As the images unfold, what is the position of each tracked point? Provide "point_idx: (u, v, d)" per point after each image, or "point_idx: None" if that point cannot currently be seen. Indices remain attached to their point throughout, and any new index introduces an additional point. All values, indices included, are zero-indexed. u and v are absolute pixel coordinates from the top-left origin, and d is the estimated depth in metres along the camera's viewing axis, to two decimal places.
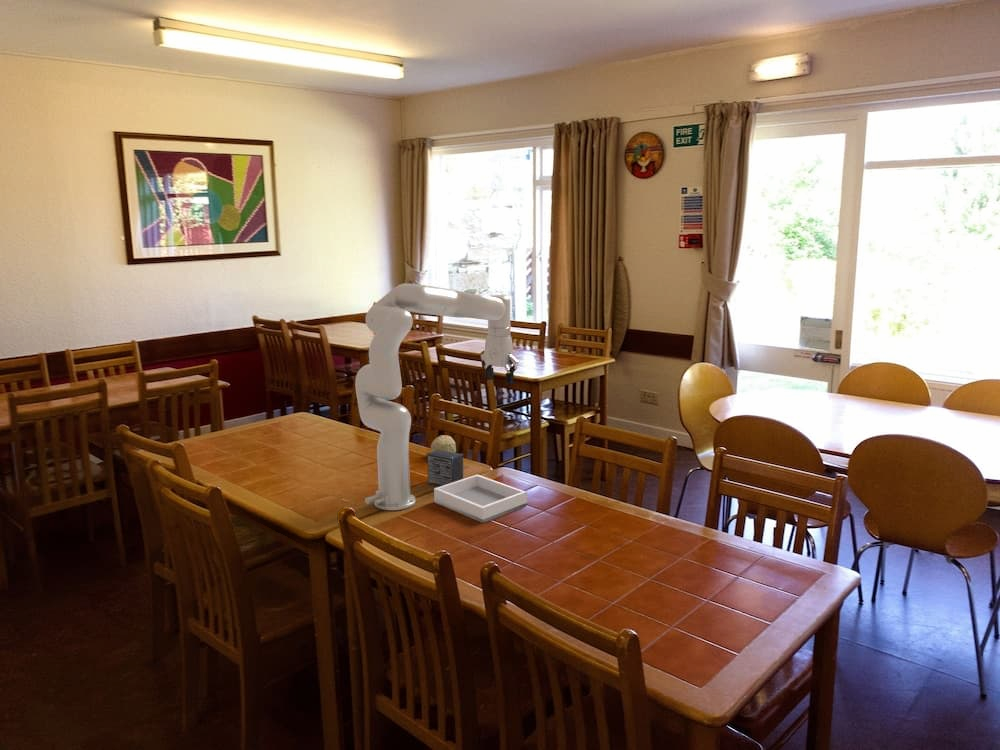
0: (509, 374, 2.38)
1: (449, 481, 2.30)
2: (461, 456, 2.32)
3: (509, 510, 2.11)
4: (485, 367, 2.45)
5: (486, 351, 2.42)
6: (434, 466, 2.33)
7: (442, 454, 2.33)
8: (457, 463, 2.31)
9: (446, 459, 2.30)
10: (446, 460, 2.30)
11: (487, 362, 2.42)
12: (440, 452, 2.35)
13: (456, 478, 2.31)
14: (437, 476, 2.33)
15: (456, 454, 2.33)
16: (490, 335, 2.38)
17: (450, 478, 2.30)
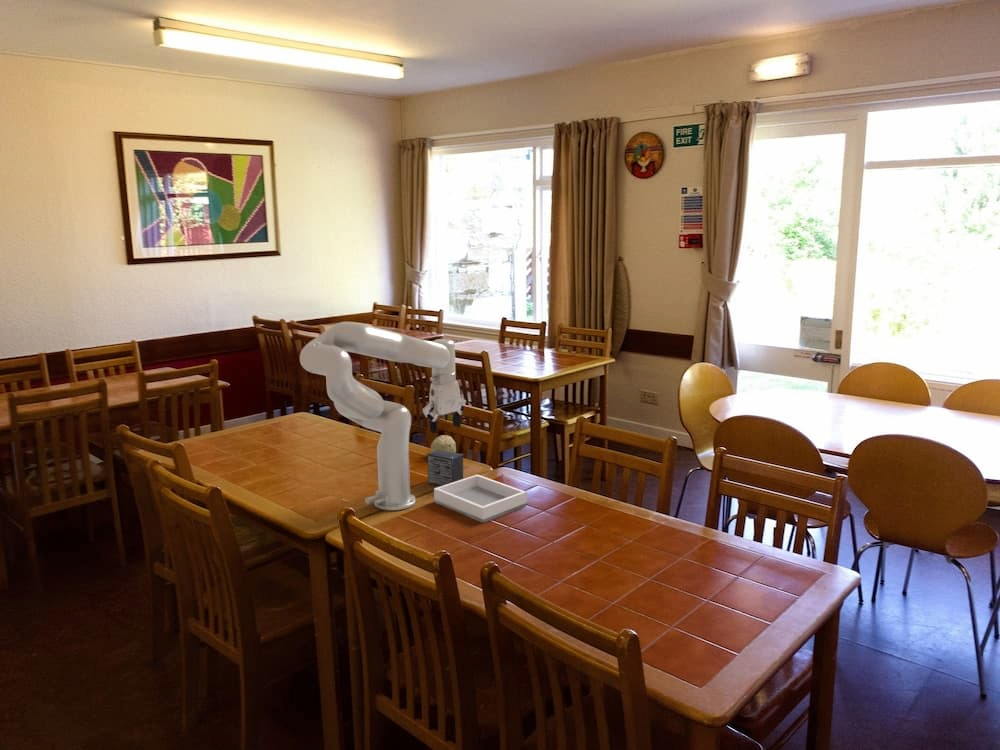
0: (459, 416, 2.34)
1: (449, 481, 2.30)
2: (461, 456, 2.32)
3: (509, 510, 2.11)
4: (434, 420, 2.26)
5: (441, 401, 2.26)
6: (434, 466, 2.33)
7: (442, 454, 2.33)
8: (457, 463, 2.31)
9: (446, 459, 2.30)
10: (446, 460, 2.30)
11: (443, 412, 2.27)
12: (440, 452, 2.35)
13: (456, 478, 2.31)
14: (437, 476, 2.33)
15: (456, 454, 2.33)
16: (450, 382, 2.26)
17: (450, 478, 2.30)
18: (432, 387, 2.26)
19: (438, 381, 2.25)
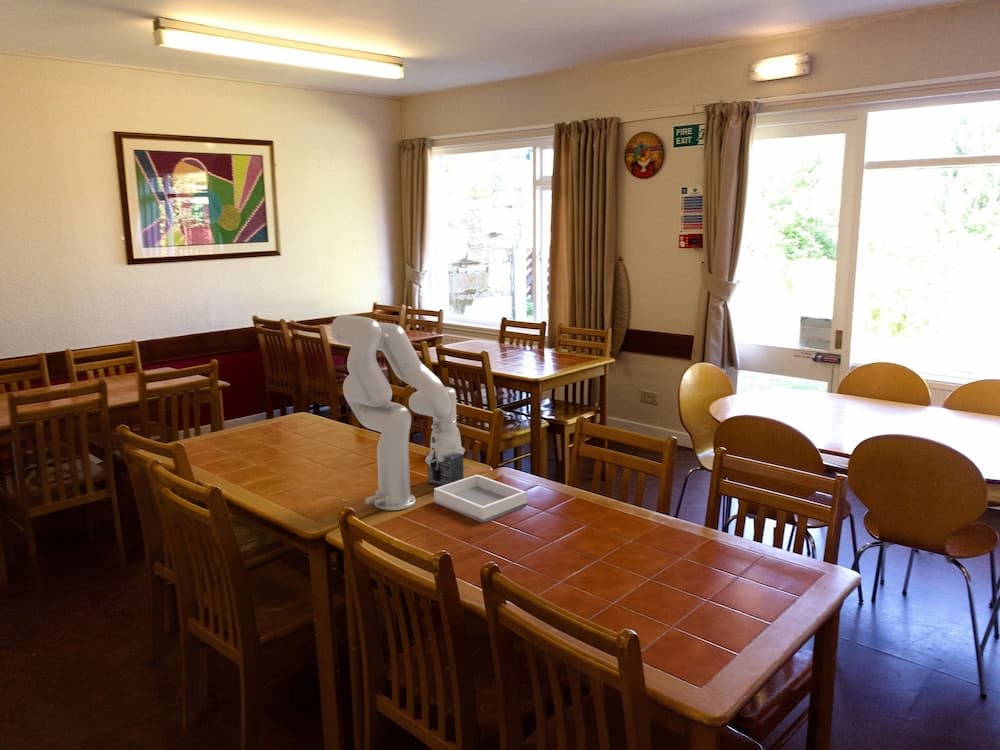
0: None
1: (449, 481, 2.30)
2: (461, 456, 2.32)
3: (509, 510, 2.11)
4: (437, 468, 2.30)
5: (442, 449, 2.29)
6: None
7: None
8: (457, 463, 2.31)
9: (446, 459, 2.30)
10: (446, 460, 2.30)
11: (444, 459, 2.30)
12: None
13: (456, 478, 2.31)
14: None
15: (456, 454, 2.33)
16: (451, 430, 2.29)
17: (450, 478, 2.30)
18: (433, 435, 2.29)
19: (439, 429, 2.28)
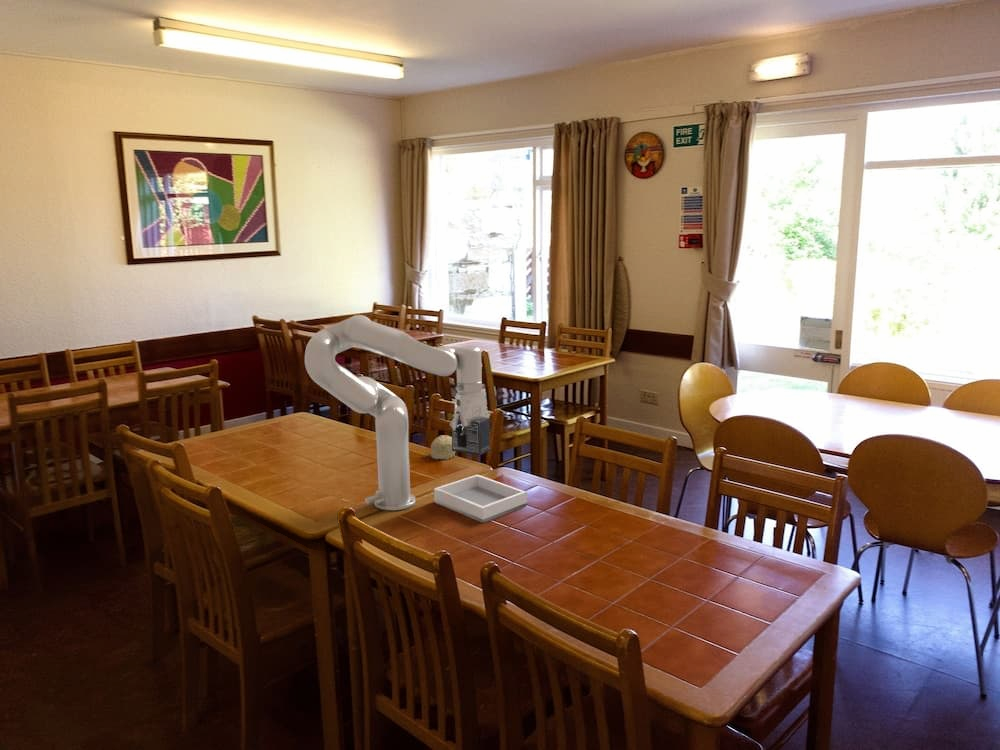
0: None
1: (476, 447, 2.14)
2: (488, 420, 2.16)
3: (509, 510, 2.11)
4: (462, 433, 2.14)
5: (468, 412, 2.12)
6: None
7: None
8: (484, 427, 2.15)
9: (472, 423, 2.13)
10: (472, 424, 2.14)
11: (469, 424, 2.13)
12: None
13: (483, 444, 2.15)
14: None
15: (482, 418, 2.17)
16: (477, 391, 2.13)
17: (476, 444, 2.14)
18: (458, 397, 2.13)
19: (464, 391, 2.12)
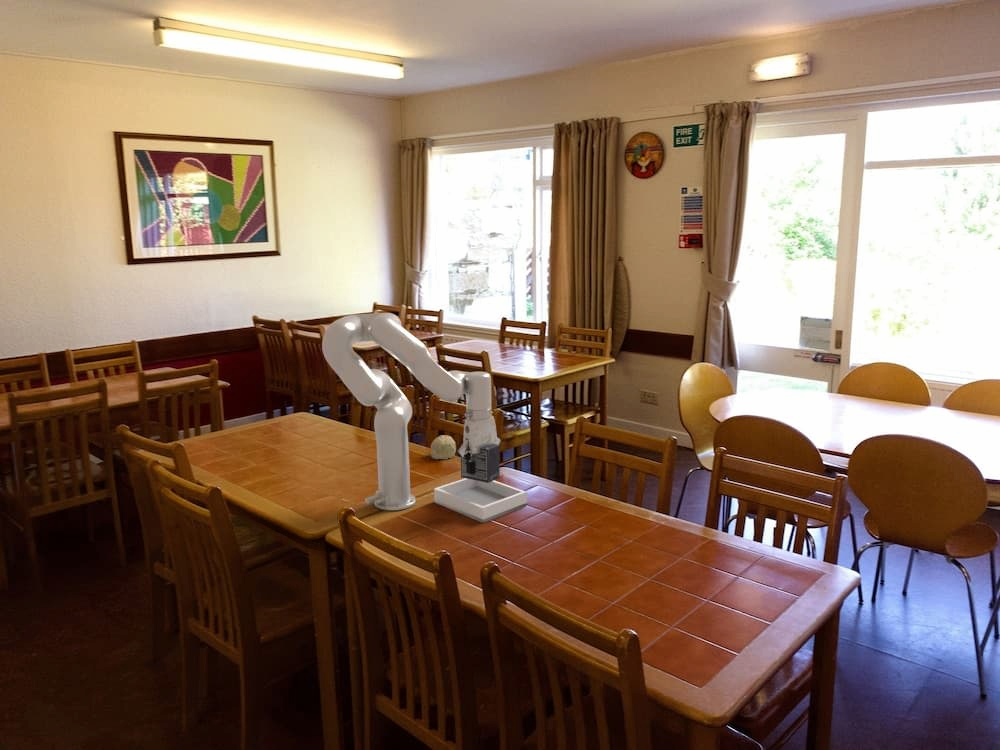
0: None
1: (484, 474, 2.11)
2: (497, 447, 2.13)
3: (509, 510, 2.11)
4: (471, 460, 2.11)
5: (477, 439, 2.09)
6: None
7: None
8: (493, 454, 2.11)
9: (481, 450, 2.10)
10: (481, 451, 2.10)
11: (478, 451, 2.10)
12: None
13: (492, 471, 2.12)
14: None
15: (492, 445, 2.13)
16: (486, 418, 2.09)
17: (485, 471, 2.11)
18: (467, 424, 2.10)
19: (473, 417, 2.09)
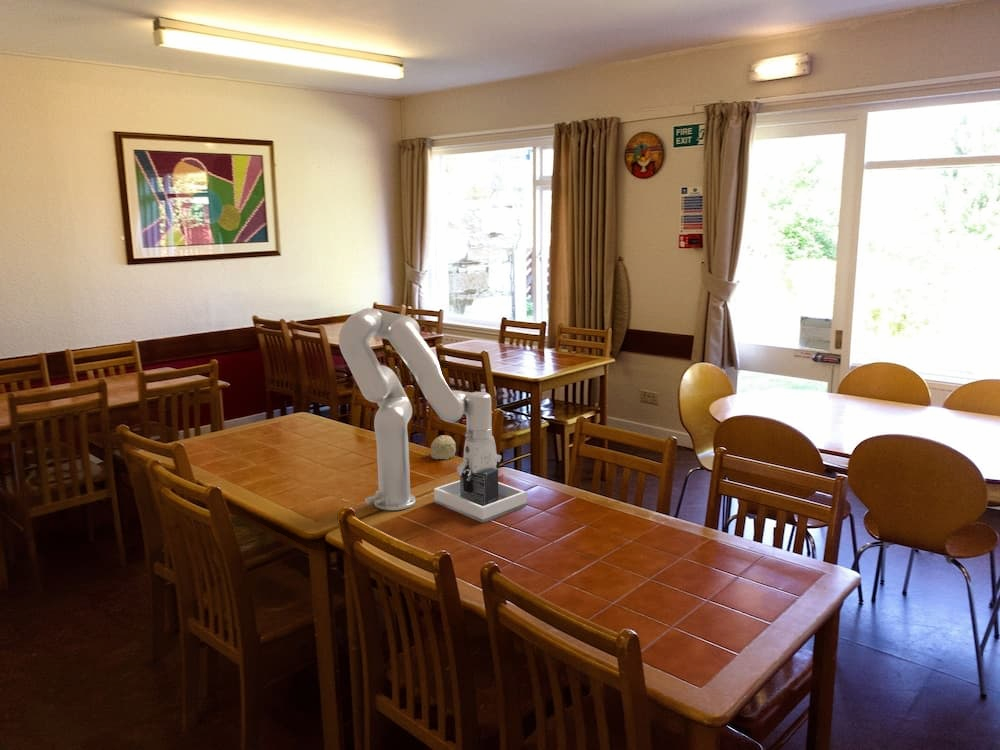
0: None
1: (483, 498, 2.13)
2: (496, 471, 2.14)
3: (509, 510, 2.11)
4: (468, 479, 2.11)
5: (477, 459, 2.11)
6: None
7: None
8: (492, 479, 2.13)
9: (480, 474, 2.12)
10: (480, 476, 2.12)
11: (478, 471, 2.12)
12: None
13: (491, 495, 2.13)
14: None
15: (491, 469, 2.15)
16: (486, 438, 2.11)
17: (484, 496, 2.12)
18: (467, 444, 2.11)
19: (473, 438, 2.10)
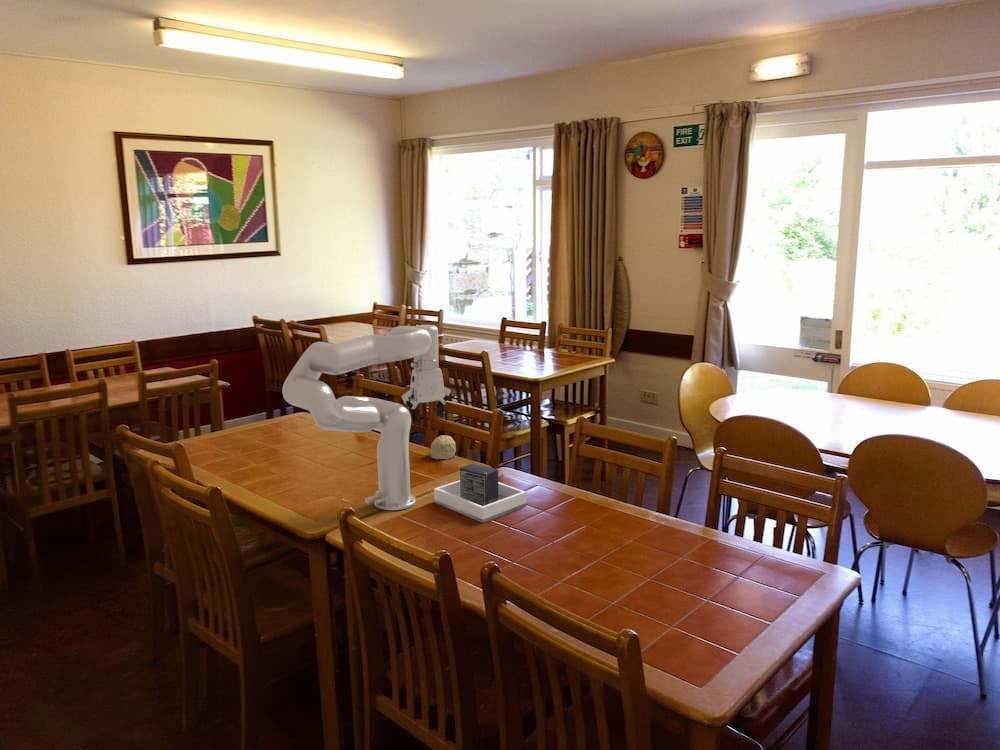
0: None
1: (483, 498, 2.13)
2: (496, 471, 2.14)
3: (509, 510, 2.11)
4: (413, 407, 2.19)
5: (421, 389, 2.18)
6: (467, 482, 2.15)
7: (475, 468, 2.15)
8: (492, 479, 2.13)
9: (480, 474, 2.12)
10: (480, 476, 2.12)
11: (423, 400, 2.19)
12: (474, 466, 2.17)
13: (491, 495, 2.13)
14: (470, 492, 2.15)
15: (491, 469, 2.15)
16: (431, 369, 2.18)
17: (483, 496, 2.12)
18: (413, 373, 2.19)
19: (419, 367, 2.18)
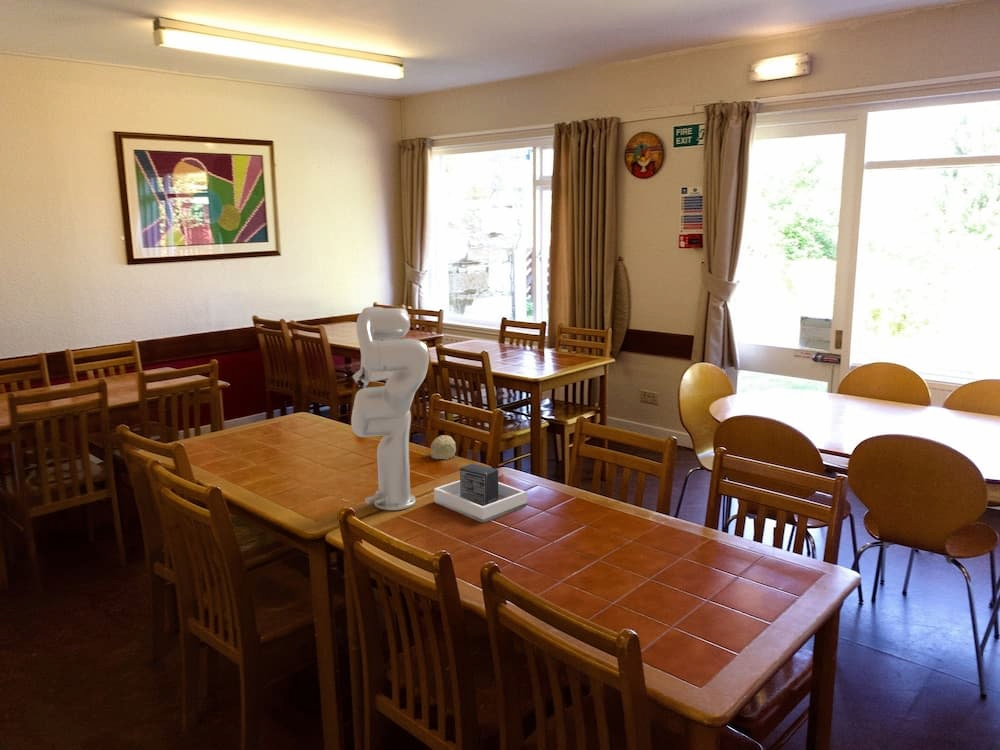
0: None
1: (483, 498, 2.13)
2: (496, 471, 2.14)
3: (509, 510, 2.11)
4: (364, 386, 2.30)
5: None
6: (467, 482, 2.15)
7: (475, 468, 2.15)
8: (492, 479, 2.13)
9: (480, 474, 2.12)
10: (480, 476, 2.12)
11: (373, 379, 2.30)
12: (474, 466, 2.17)
13: (491, 495, 2.13)
14: (470, 492, 2.15)
15: (491, 469, 2.15)
16: None
17: (483, 496, 2.12)
18: None
19: None
